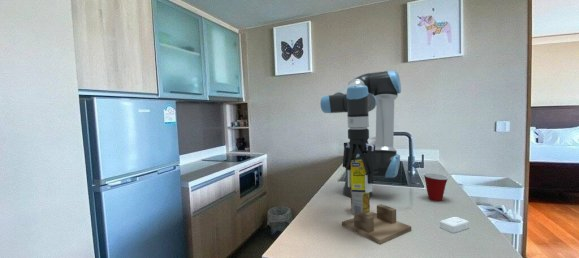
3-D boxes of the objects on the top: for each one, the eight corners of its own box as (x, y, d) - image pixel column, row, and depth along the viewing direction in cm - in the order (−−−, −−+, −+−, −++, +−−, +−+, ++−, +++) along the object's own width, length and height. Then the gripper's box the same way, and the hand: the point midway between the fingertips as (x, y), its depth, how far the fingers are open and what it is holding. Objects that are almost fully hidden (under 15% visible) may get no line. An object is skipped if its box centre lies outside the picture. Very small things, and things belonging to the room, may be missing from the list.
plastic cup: (451, 204, 118) (451, 178, 118) (424, 202, 122) (424, 177, 122) (446, 196, 128) (446, 173, 128) (422, 195, 133) (422, 171, 132)
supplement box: (368, 192, 93) (367, 162, 92) (351, 192, 94) (350, 162, 94) (367, 187, 99) (366, 159, 98) (351, 187, 100) (350, 159, 99)
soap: (455, 223, 99) (455, 215, 99) (469, 228, 94) (469, 220, 94) (438, 228, 96) (438, 220, 96) (453, 234, 91) (453, 225, 91)
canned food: (371, 209, 116) (370, 183, 115) (367, 215, 109) (367, 187, 108) (353, 207, 119) (353, 181, 119) (349, 213, 112) (348, 185, 112)
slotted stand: (342, 225, 100) (341, 208, 100) (372, 215, 109) (371, 200, 109) (380, 244, 85) (379, 224, 85) (411, 230, 94) (411, 213, 93)
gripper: (331, 128, 102) (333, 184, 104) (373, 130, 84) (374, 198, 85) (346, 126, 106) (347, 181, 107) (388, 128, 88) (389, 194, 89)
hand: (359, 189), depth 96 cm, fingers closed on supplement box, 8 cm apart
